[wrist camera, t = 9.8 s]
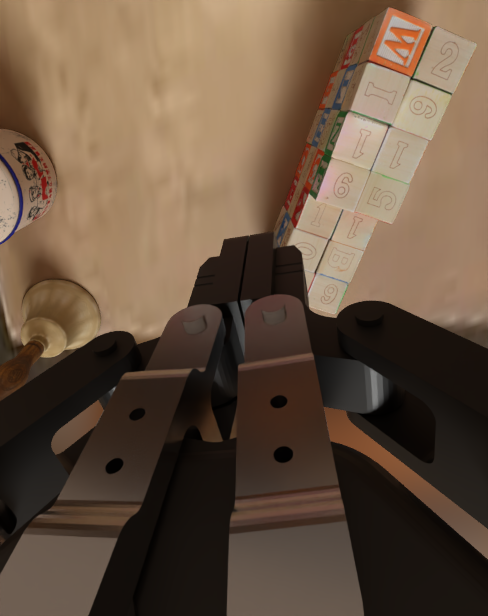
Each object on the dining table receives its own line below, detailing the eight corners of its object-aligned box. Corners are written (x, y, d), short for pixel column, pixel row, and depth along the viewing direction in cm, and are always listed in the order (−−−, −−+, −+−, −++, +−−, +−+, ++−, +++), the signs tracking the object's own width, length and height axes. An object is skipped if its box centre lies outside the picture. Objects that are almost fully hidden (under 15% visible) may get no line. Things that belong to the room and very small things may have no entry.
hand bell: (93, 356, 51) (36, 457, 36) (18, 337, 50) (-73, 433, 35) (107, 291, 48) (50, 373, 33) (27, 269, 46) (-68, 343, 32)
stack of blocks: (317, 279, 47) (342, 333, 36) (261, 261, 47) (268, 310, 35) (411, 60, 39) (481, 41, 28) (345, 32, 38) (390, 3, 27)
